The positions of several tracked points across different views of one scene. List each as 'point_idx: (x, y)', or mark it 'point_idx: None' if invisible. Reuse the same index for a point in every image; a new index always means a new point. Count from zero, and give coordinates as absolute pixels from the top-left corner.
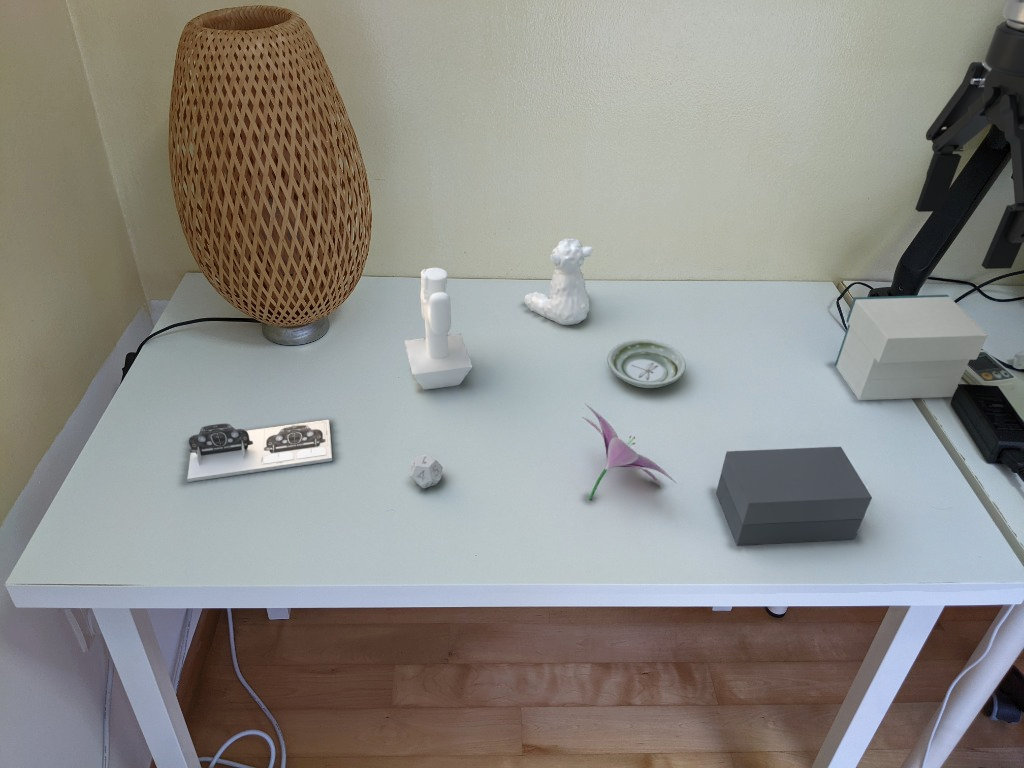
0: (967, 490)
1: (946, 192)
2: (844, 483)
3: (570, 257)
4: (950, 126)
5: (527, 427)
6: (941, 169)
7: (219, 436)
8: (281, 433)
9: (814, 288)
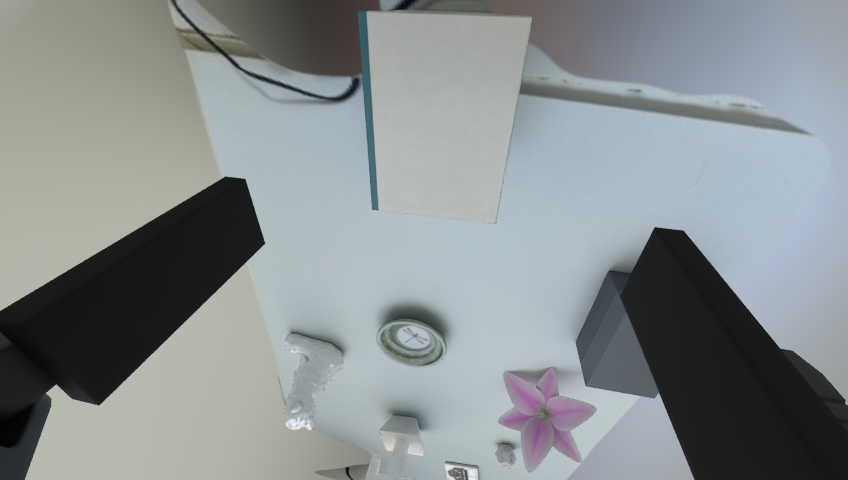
0: (692, 125)
1: (195, 216)
2: None
3: (309, 419)
4: None
5: (467, 403)
6: (138, 327)
7: None
8: (453, 476)
9: (214, 91)
